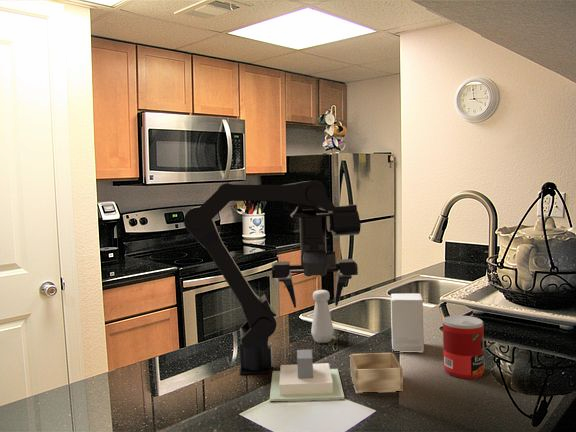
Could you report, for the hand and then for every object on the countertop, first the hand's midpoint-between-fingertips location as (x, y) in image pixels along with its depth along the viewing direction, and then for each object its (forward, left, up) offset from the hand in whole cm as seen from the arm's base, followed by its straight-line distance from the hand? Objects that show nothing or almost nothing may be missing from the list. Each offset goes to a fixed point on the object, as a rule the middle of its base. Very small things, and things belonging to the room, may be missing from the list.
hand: (315, 306), depth 110 cm
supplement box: (+22, +8, -13) cm, 27 cm away
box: (+11, -12, -13) cm, 21 cm away
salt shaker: (+2, +16, -13) cm, 21 cm away
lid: (-3, -12, -13) cm, 18 cm away
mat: (-3, -12, -13) cm, 18 cm away
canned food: (+30, -8, -13) cm, 34 cm away
